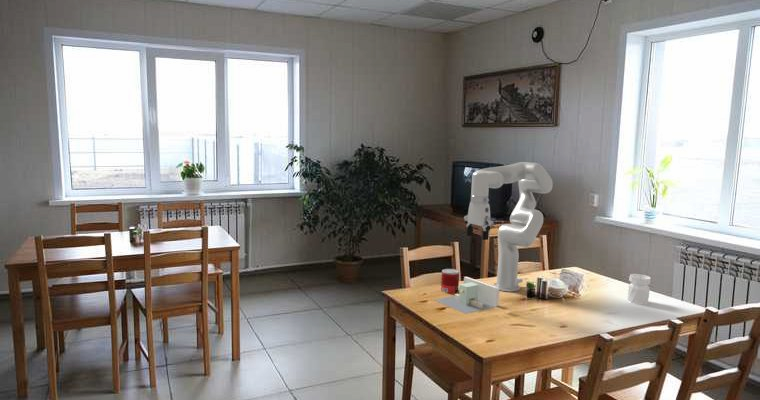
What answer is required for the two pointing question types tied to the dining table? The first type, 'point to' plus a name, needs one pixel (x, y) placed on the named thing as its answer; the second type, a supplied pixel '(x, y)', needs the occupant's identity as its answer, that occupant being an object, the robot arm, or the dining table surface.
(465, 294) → the cabinet block
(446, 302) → the cleat board
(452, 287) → the canned food
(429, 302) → the dining table surface
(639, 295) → the white lidded jar
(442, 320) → the dining table surface
